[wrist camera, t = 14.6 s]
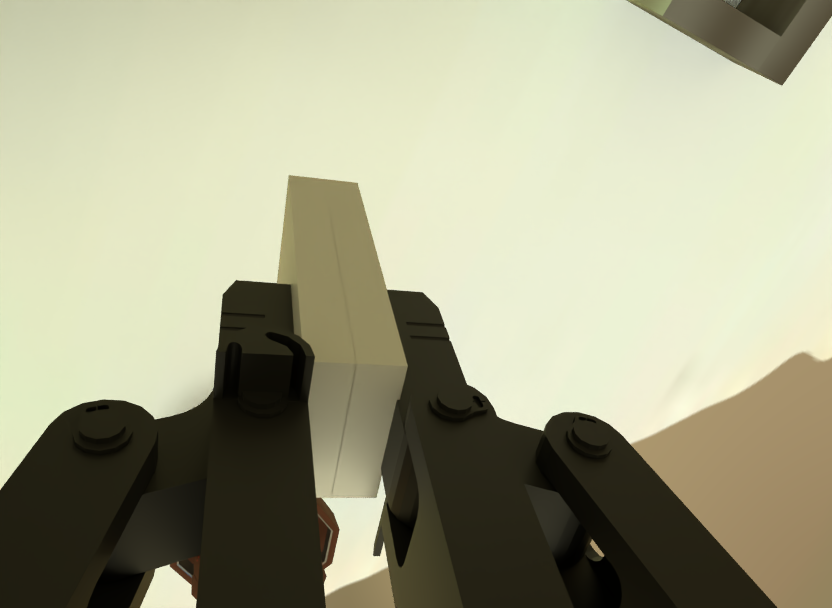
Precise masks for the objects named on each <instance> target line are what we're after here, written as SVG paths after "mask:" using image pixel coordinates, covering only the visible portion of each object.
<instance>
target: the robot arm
mask: <svg viewBox="0 0 832 608" xmlns="http://www.w3.org/2000/svg"><path fill="white" fill-rule="evenodd" d="M381 476H382V477H383V482H384V488H385V493H386V498H385V502H384V506H383V511H382V515H381V519H380V523H379V527H378V531H377V535H376V539H375V543H374V552H373V556H380V554H381V550H382V546H383V542H384V544H385V550H386V556H387V562H388V567H389V573H390V579H391V585H392V591H393V597H394V603H395V608H777V607H776V606H775V604H774V603H773V602H772V601H771V600H770V599H769V598H768V597H767V596H766V594H765V593H764V592H763V591H762V590H761V589H760V588H759V587H758V586H757V584H755V582H754V581H753V580H752V579H751V578H750V577H749V576H748V575H747V573H746V572H745V571H744V570H743V569H742V568H741V567H740V566H739V565H738V563H737V562H736V561H735V560H734V559H733V558H732V557H731V556H730V555H729V553H728V552H727V551H726V550H725V549H724V548H723V547H722V546H721V545H720V543H719V542H718V541H717V540H716V539H715V538H714V537H713V536H712V535H711V534H710V532H709V531H708V530H707V529H706V528H705V527H704V526H703V525H702V524H701V522H700V521H699V520H698V519H697V518H696V517H695V516H694V515H693V514H692V512H691V511H690V510H689V509H688V508H687V507H686V506H685V505H684V504H683V502H682V501H681V500H680V499H679V498H678V497H677V496H676V495H675V494H674V493H673V491H672V490H671V489H670V488H669V487H668V486H667V485H666V484H665V483H664V482H663V481H662V479H661V478H660V477H659V476H658V475H657V474H656V473H655V471H653V469H652V468H651V467H650V466H649V465H648V464H647V463H646V461H644V459H643V458H642V457H641V456H640V455H639V454H638V453H637V452H636V450H635V449H634V448H633V447H632V446H631V445H630V444H629V443H628V442H627V440H626V439H625V438H624V437H623V436H622V435H621V434H620V433H619V432H618V431H616V430H615V429H614V428H613V427H612V426H610V425H609V424H608V423H606V422H604V421H602V420H600V419H598V418H596V417H594V416H590V415H586V414H583V413H579V412H563V413H560V414H558V415H555V416H552V418H551V419H550V420H549V421H548V423H547V424H546V426H545V429H544V431H541V430H537V429H534V428H530V427H526V426H522V425H519V424H515V423H512V422H509V421H506V420H503V419H501V418H499V417H497V415H496V412H495V410H494V408H493V406H492V405H491V403H490V402H489V400H488V399H487V397H486V396H484V395H483V394H482V393H480V392H479V391H478V390H477V389H475V388H473V387H471V386H469V385H467V383H466V381H465V378H464V375H463V373H462V370H461V367H460V365H459V362H458V359H457V357H456V354H455V351H454V349H453V346H452V343H451V341H449V335H448V332H447V330H446V328H445V327H444V322H443V319H442V316H441V314H440V311H439V308H438V307H437V306H436V305H435V304H434V303H433V302H432V301H431V300H430V299H429V298H428V297H427V296H426V295H425V294H424V293H423V292H410V291H397V290H387V289H386V285H385V281H384V278H383V274H382V271H381V267H380V263H379V260H378V256H377V252H376V249H375V245H374V241H373V238H372V234H371V230H370V227H369V223H368V220H367V216H366V212H365V209H364V205H363V201H362V198H361V194H360V190H359V187H358V183H353V182H344V181H335V180H326V179H318V178H309V177H300V176H291V175H289V179H288V188H287V197H286V206H285V215H284V224H283V233H282V242H281V251H280V260H279V270H278V279H277V283H265V282H252V281H238V280H236V281H235V282H234V283H233V284H232V285H231V286H230V287H229V288H228V290H227V291H226V292H225V293H224V294H223V298H222V310H221V322H220V333H219V345H218V349H217V351H216V363H215V379H214V388H213V391H212V392H211V394H210V395H209V397H208V398H207V399H206V400H205V401H203V402H202V403H201V404H200V405H198V406H197V407H195V408H193V409H191V410H189V411H187V412H184V413H181V414H177V415H174V416H170V417H165V418H160V419H155V420H154V417H153V416H152V415H151V414H150V413H148V412H147V411H146V410H145V409H144V408H142V407H141V406H138V405H135V404H132V403H129V402H126V401H120V400H98V401H93V402H87V403H82V404H80V405H78V406H76V407H73V408H71V409H69V410H67V411H64V412H63V413H62V414H61V415H60V416H58V417H57V418H56V419H55V420H54V421H53V422H52V423H51V424H50V425H49V426H48V427H47V429H46V430H45V431H44V433H43V434H42V435H41V437H40V438H39V439H38V441H37V442H36V443H35V445H34V446H33V447H32V449H31V450H30V451H29V453H28V454H27V455H26V457H25V458H24V459H23V461H22V462H21V463H20V465H19V466H18V467H17V469H16V470H15V471H14V473H13V474H12V475H11V476H10V478H9V479H8V480H7V482H6V483H5V484H4V486H3V487H2V488H1V490H0V608H140V606H141V604H142V602H143V599H144V597H145V595H146V592H147V590H148V588H149V586H150V583H151V581H152V579H153V577H154V572H155V569H156V568H159V567H162V566H166V565H169V564H172V563H175V562H179V561H182V560H185V559H189V558H192V557H195V556H198V555H200V566H199V579H198V591H197V603H196V608H326V605H325V593H324V582H323V570H322V558H321V547H320V535H319V523H318V512H317V500H316V498H376V497H377V493H378V489H379V485H380V480H381ZM592 539H593V540H594V542H595V543H596V544H597V546H598V547H599V548H600V550H601V551H602V552H603V554H604V557H601V556H599V555H598V553H597V552H595V550H594V549H593V548H592V546H591V545H590V542H591V540H592Z"/></svg>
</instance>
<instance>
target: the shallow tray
mask: <svg viewBox="0 0 832 608" xmlns="http://www.w3.org/2000/svg"><path fill="white" fill-rule="evenodd" d="M627 1H629V2H630V3H632V4H634V5H636V6H637V7H639V8H641V9H642V10H644V11H646V12H648V13H649V14H651V15H653V16H655V17H656V18H658V19H660V20H661V21H663V22H665V23H667V24H668V25H670V26H672V27H673V28H675V29H677V30H679V31H680V32H682V33H684V34H686V35H687V36H689V37H691V38H692V39H694V40H696V41H698V42H699V43H701V44H703V45H705V46H706V47H708V48H710V49H711V50H713V51H715V52H717V53H718V54H720V55H722V56H724V57H725V58H727V59H729V60H730V61H732V62H734V63H736V64H738V65H740V66H742V67H744V68H746V69H748V70H751V71H753V72H755V73H757V74H759V75H761V76H763V77H765V78H767V79H769V80H771V81H773V82H775V83H778V84H780V85H783V84H784V82H785V81H786V79H787V78H788V77H789V75H790V74H791V72H792V71H793V70H794V68H795V67H796V65H797V64H798V63H799V61H800V60H801V58H802V57H803V56H804V54H805V53H806V51H807V50H808V49H809V47H810V46H811V44H812V43H813V42H814V40H815V39H816V37H817V36H818V35H819V33H820V32H821V30H822V29H823V28H824V26H825V25H826V24H827V22H828V21H829V19H830V18H831V17H832V0H742V1H741V3H740V4H739V6H738V7H737V9H736V8H734V7H732V6H731V5H729V4H727V3H726V2H724V1H723V0H627Z"/></svg>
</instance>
